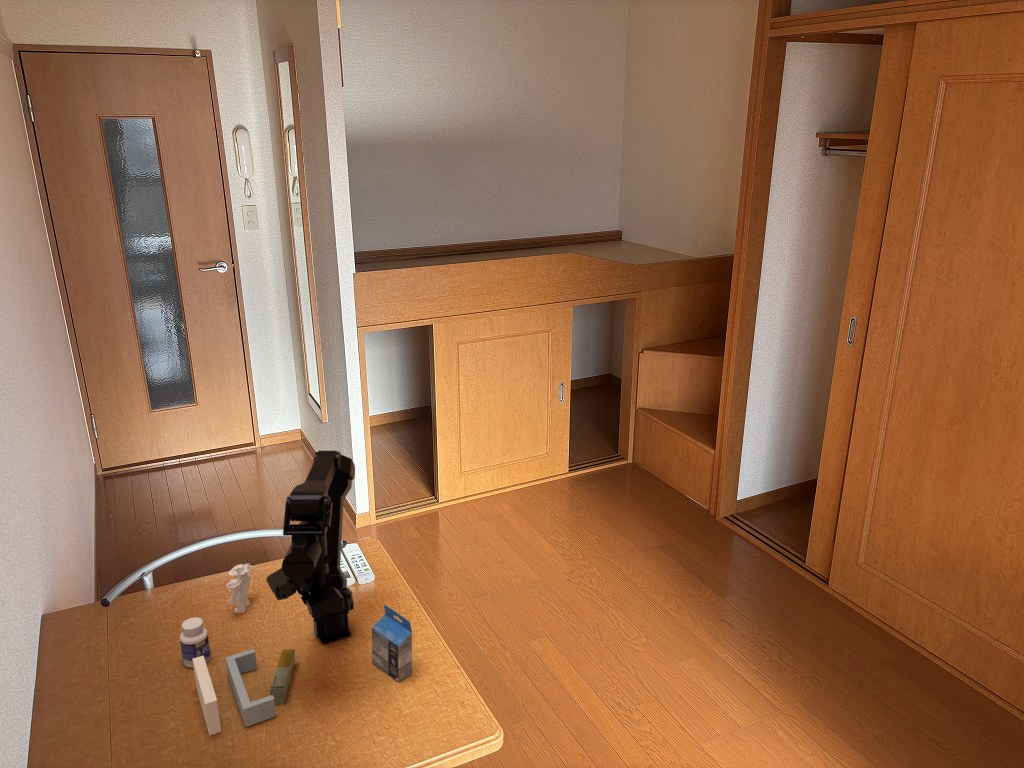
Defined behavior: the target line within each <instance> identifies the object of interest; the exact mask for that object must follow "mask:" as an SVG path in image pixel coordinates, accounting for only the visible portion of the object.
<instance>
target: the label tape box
mask: <svg viewBox="0 0 1024 768" xmlns="http://www.w3.org/2000/svg"><path fill="white" fill-rule="evenodd" d="M383 606H384V614H383V616H382V617H381V618H379V620H377V622H376V623H375V624H374V625H373V626H372V627H371V663H372V664H374V665H375V666H377V667H378V668H379V669H381V670H382V671H383V672H385V673H386V674H388V675H389V676H390V677H392V678H393V679H394V680H396V681H397V682H401V681H403V680H404V679H406V678H407V677H409V676H410V675H412V674H413V642H412V641H413V640H412V639H413V634H412V633H413V630H412V625H411V624H412V623H411V621H410V620H409V619H407V618H406V617H404V616H403V615H401V614H400V613H399V612H397V611H395V610H394V609H393V608H391V607H390V606H388V605H386V604H383ZM396 617H397V618H398V619H397V618H396Z"/></svg>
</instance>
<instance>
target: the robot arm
mask: <svg viewBox="0 0 1024 768" xmlns="http://www.w3.org/2000/svg"><path fill="white" fill-rule="evenodd" d="M355 476H356V465H355V462H354V460H353V459H352V458H350V457H348V456H346V455H343V454H342V453H341V452H340V451H338V450H318V451H315V453H314V457H313V459H312V465H311V467H310V470H309V472H308V473H307V477H306V478H305V480H304V482H303V483H300V484H297V485H295V486H294V488H293V489H292V490H291V492H290V493H289V495H288V496H287V497H286V500H285V507H284V516H283V517H284V518H283V527H282V529H283V531H282V536H285V537H286V536H289V537H290V536H291V543H290V545H289V547H288V550H287V552H286V553H285V555H284V558H283V560H282V562H281V567H280V568H279V569H277V570H276V571H274V572H272V573H271V574H269V575H267V577H266V578H265V580H266V582H267V584H268V587H269V588H270V590H271V591H272V593H273V595H274V597H275V599H276V600H277V601H282V600H287V599H288V598H290V597H291V596H293V595H296V594H298V595H300V599H301V601H302V603H303V604H304V605H305V606H306V607H307V610H308V614H309V615H310V617H311V618H312V621H313V633H314V634H315V637H316V638H317V639H318V640H319V641H320V643H321V644H322V645H327V644H331V643H333V642H337V641H339V640H343V639H346V638H349V637H352V631H351V630H350V628H349V615H350V612H351V611H352V610H354V608H355V605H354V597H353V591H352V590H351V589H350V588H349V587H348V579H347V578H346V576H345V574H344V572H343V570H342V569H341V557H342V556H341V555H342V538H343V537H342V536H343V521H344V520H343V517H344V502H345V498H346V497H347V496H348V494H349V492H350V491H351V489H352V488H353V487H352V486H353V480H355ZM291 522H299V523H297V524H296V523H295V524H291Z"/></svg>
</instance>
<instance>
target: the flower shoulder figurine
mask: <svg viewBox="0 0 1024 768" xmlns="http://www.w3.org/2000/svg"><path fill="white" fill-rule="evenodd" d="M253 567H254V566H253V565H251V564H250V563H249V562H248V563H245V564H244V563H240V564H237V565H234V567H232V568H231V569H230V570H229V572H228V574H229V575H230V576H233V578H232V577H231V578H230V579H231V580H229V581H228V582H227V583H226V584H225V585H226V590H228V591H229V593H231V594H230V597H229V598H228V601H227V602H228V603H229V605H233V603H234V601H235V604H236V607H235V608H234V613H236V614H243V613H245V612H246V608H248V607H250V605H251V604H250V600H249V598H248V596H247V595H248V594H247V593H248V591H249V588H250V584H251V577H250V575H253V573H254V569H253ZM249 574H250V575H249Z"/></svg>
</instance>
